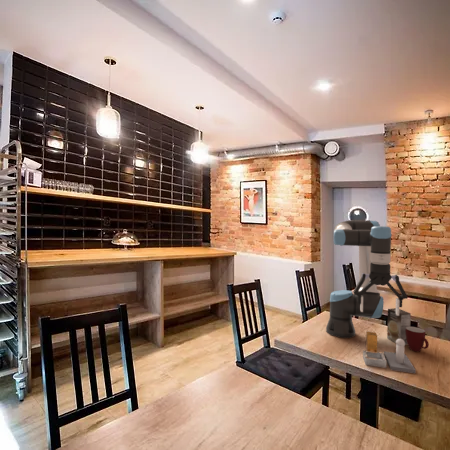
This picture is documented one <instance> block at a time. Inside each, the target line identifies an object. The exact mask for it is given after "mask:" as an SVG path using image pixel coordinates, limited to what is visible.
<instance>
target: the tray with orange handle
mask: <svg viewBox="0 0 450 450" xmlns="http://www.w3.org/2000/svg"><path fill="white" fill-rule="evenodd" d="M365 339H366V340H365V342H366V343H365V350H362V357H363V361H364V365H365V366H370V367H375V368H376V367H379V368H384V369H387V361H386V359H385V357H384V352H378V334H377V333H376V332H372V331H366V335H365Z"/></svg>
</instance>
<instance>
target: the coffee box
mask: <svg viewBox="0 0 450 450" xmlns="http://www.w3.org/2000/svg"><path fill="white" fill-rule="evenodd" d="M411 316H412V315H411V313H410V312H408V311H406V310H404V309H401V308H399V316H397V315H396V307H395V308H394V307H393V308H388V309H387V327H386V328H387V329H386V331H387V332H386V334H387V335H386V337H387V339H388V340H390V341H392V342H394V343H395V344H396V340H397V339H402V340H404V342H405V346H407V345H408V344H407V339H406V327H411V319H412V318H411Z"/></svg>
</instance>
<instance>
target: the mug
mask: <svg viewBox="0 0 450 450" xmlns="http://www.w3.org/2000/svg"><path fill="white" fill-rule="evenodd" d="M406 339H407V344H406V345H407V346H408V348H409V350H410V351H413V352H418V353H419V352H421V350H422V349H424V350H425V349H428V348H429V346H430V344H429V341H428V339H426V330H424V329H423V328H419V327H417V326H410V327H406ZM424 343H425V344H424ZM424 345H425V346H424Z"/></svg>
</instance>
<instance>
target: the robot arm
mask: <svg viewBox="0 0 450 450" xmlns="http://www.w3.org/2000/svg"><path fill="white" fill-rule="evenodd" d="M333 245H335V246H341V247H342V246H349V247H350V246H351V247H352V246H353V247H354V246H356V247H358V271H359V272H358V274H359V277H358V278H359V279H358V282H357V284H356V286H355V288H354V289H353V291H352V290H348V289H339V290H334V291H331V293H330V297H329V318H328V321H327V325H326V328H325V329H326V330H325V332H326V333H327V334H329V335H330V336H333V337H336V338H341V339H342V338H343V339H346V338H347V339H349V338H353V337H355V336H356V329H355V326H354V322H353V316H354V317H363V318H368V319H369V318H370V319H379V318H381V317H382V315H383V310H384V304H385V302H384V297H383V296H382V295H381V292H380V291H378V288H377V287H378V286H387V287H388V288H389V289H390V290H391V291H392V292H393V293H394V295H395V296H396V298H395V308H396V315H397V316H399V309H400V308H403V300H404V299H408V295H407V293H406V291H405V289H404V287H403V285H402V284H401V281H400V276H398V275H397V274H395V275H391V264H390V263H391V258H392V257H391V254H392V251H391V250H392V249H391V247H392V228H391V227H390V226H383V225H382V226H381V224H380V223H379V222H378V221H377V220H368V219H367V220H366V219H365V220H363V219H362V220H358V219H357V220H355V219H354V220H353V219H352V220H350V219H349V220H344V221H341V222H338V223H337V224H336V225H335V227H334V229H333ZM391 280H393V281H394V282H395V284H396V286H397V288H398V289H399V292H400V293H401V294H400V293H399V292H398V291H397V290H396V289H395V288H394V286H393V285H392V284H391V283H390V281H391Z"/></svg>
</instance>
